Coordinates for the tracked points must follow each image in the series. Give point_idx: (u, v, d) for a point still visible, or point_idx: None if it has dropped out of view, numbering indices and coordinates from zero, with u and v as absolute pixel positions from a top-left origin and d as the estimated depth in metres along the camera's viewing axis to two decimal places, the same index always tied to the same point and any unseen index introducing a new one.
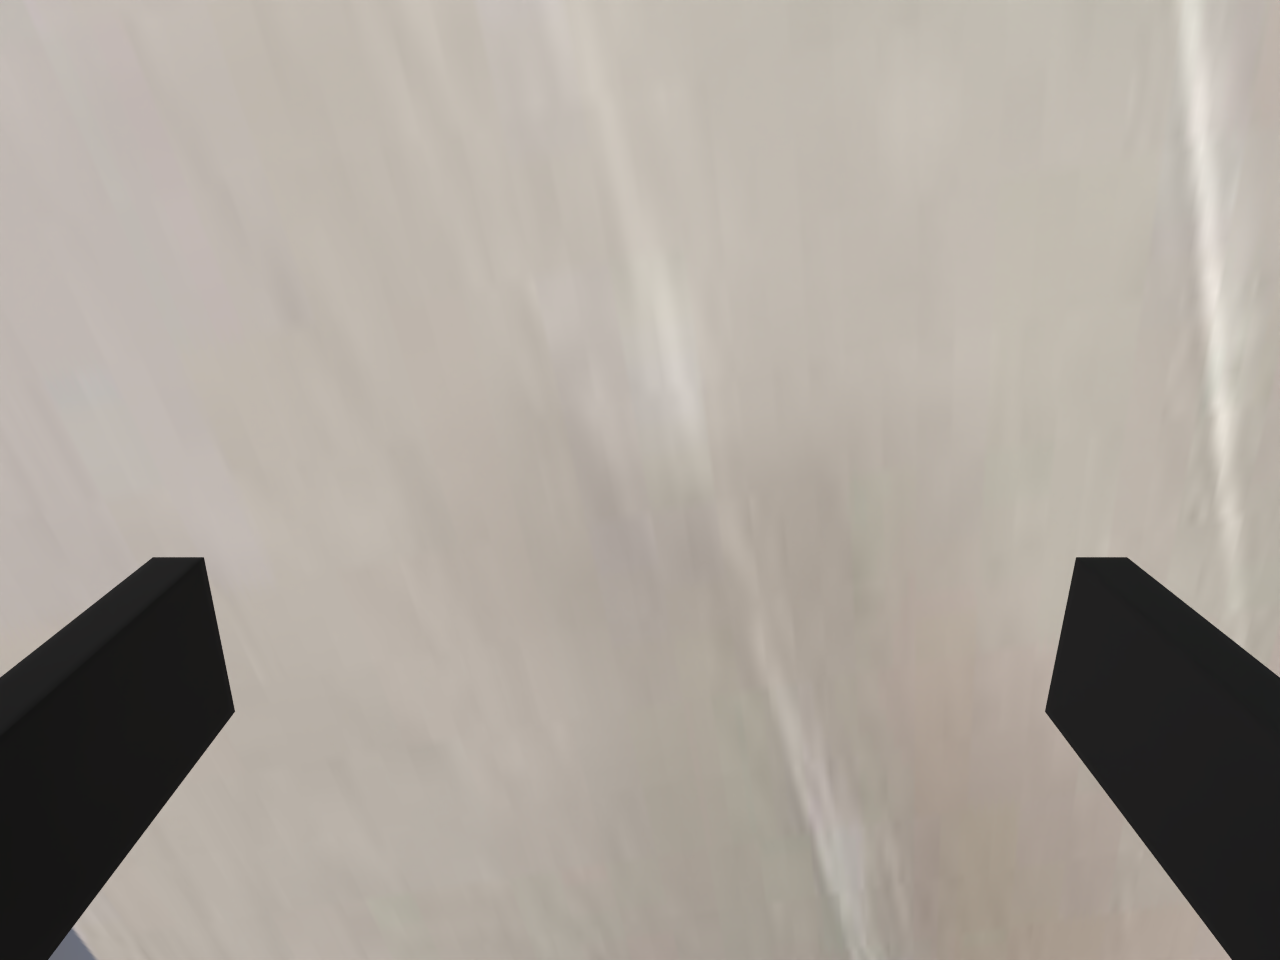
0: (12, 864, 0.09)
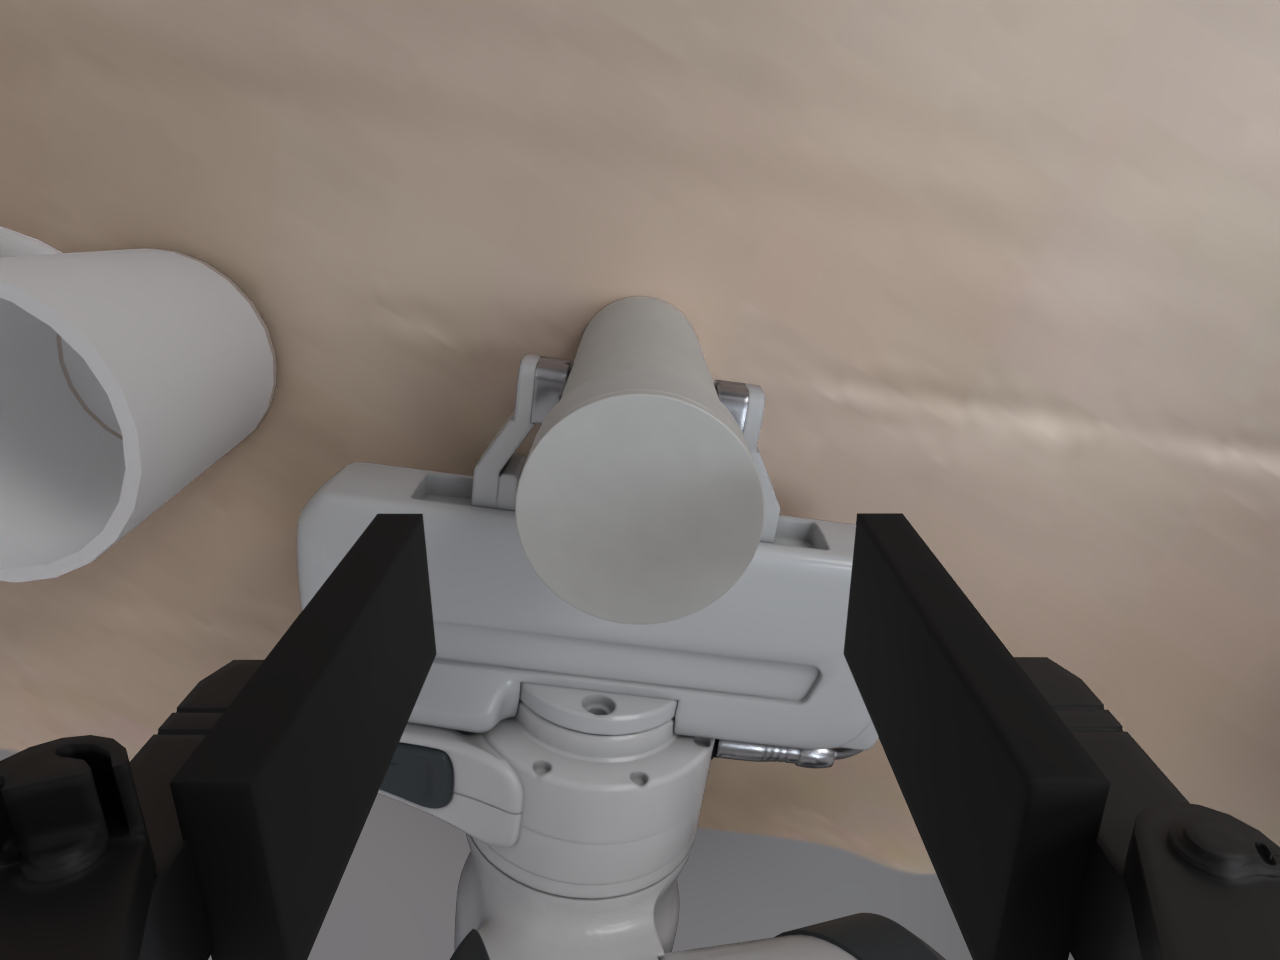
0: (341, 756, 0.10)
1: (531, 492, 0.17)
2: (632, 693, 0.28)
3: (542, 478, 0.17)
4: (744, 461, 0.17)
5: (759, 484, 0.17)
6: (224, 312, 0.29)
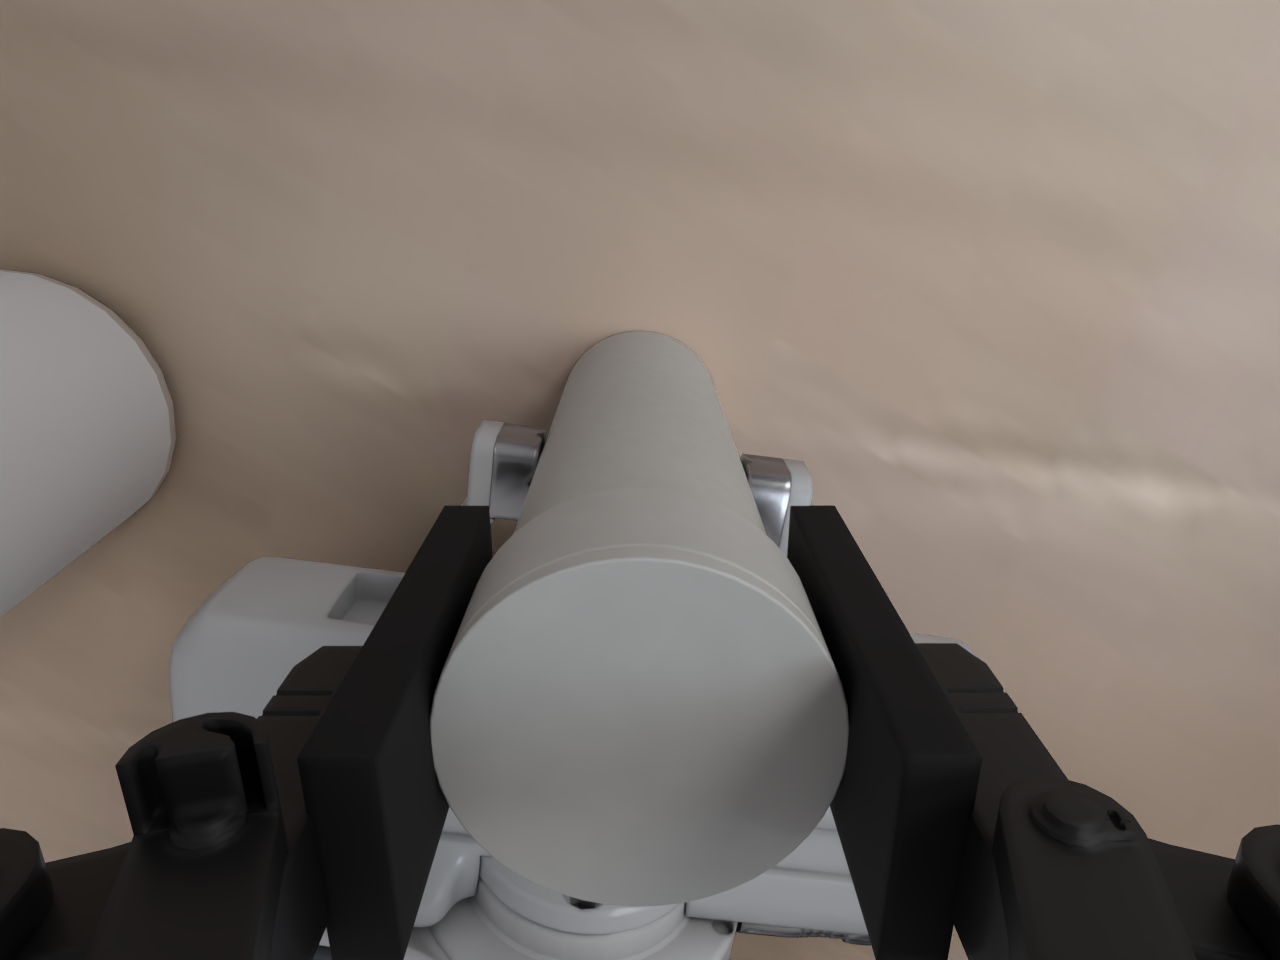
0: None
1: (455, 713, 0.10)
2: None
3: (473, 691, 0.10)
4: (818, 664, 0.10)
5: (842, 700, 0.10)
6: (90, 357, 0.22)
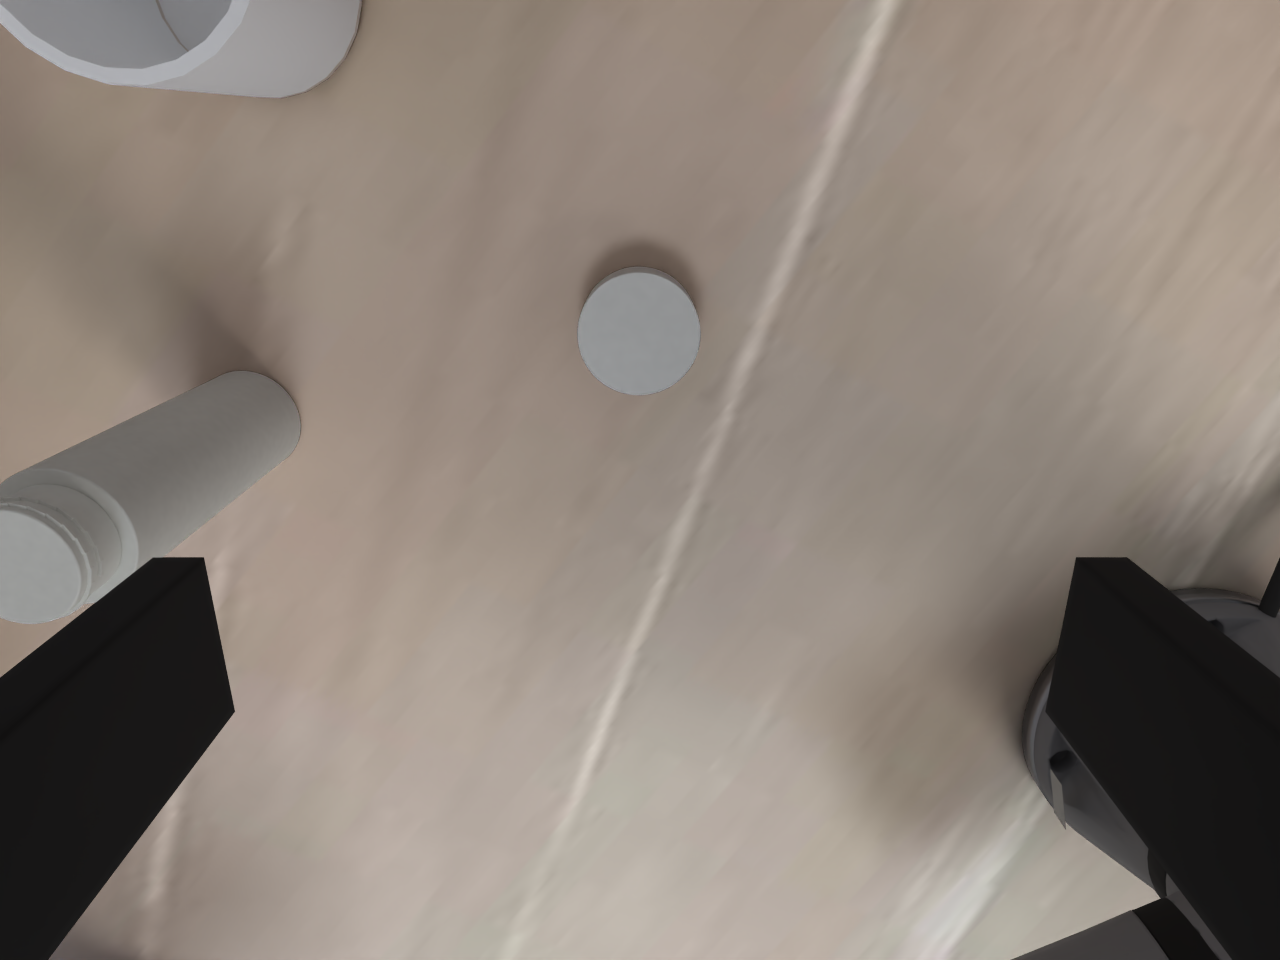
0: (12, 864, 0.09)
1: (588, 354, 0.35)
2: None
3: (588, 345, 0.35)
4: (665, 282, 0.34)
5: (678, 288, 0.34)
6: (281, 89, 0.31)
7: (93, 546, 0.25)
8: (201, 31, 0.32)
